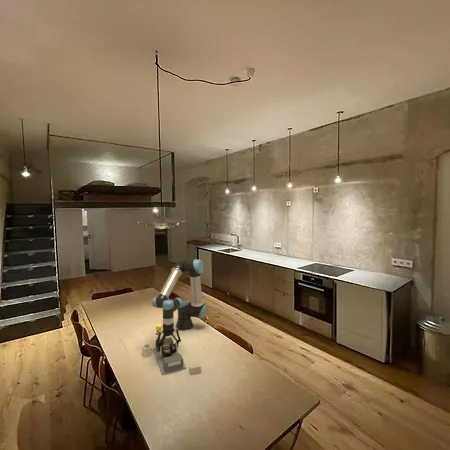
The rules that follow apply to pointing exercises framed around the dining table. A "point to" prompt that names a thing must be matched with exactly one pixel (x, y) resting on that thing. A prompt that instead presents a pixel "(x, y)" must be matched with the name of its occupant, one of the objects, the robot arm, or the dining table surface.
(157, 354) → the rail board
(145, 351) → the block
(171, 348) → the camera
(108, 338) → the dining table surface
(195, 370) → the terminal block
